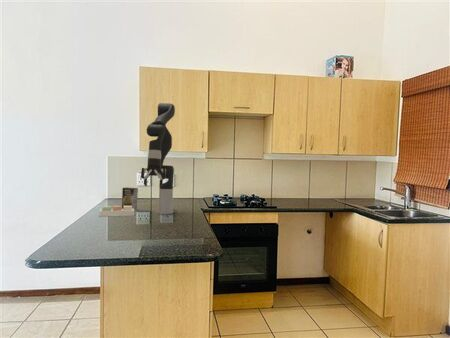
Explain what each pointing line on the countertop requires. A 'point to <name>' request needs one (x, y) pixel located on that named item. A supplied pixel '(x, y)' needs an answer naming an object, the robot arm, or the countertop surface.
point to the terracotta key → (117, 208)
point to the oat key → (127, 207)
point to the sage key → (106, 208)
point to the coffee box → (129, 197)
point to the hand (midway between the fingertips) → (153, 186)
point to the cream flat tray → (116, 213)
